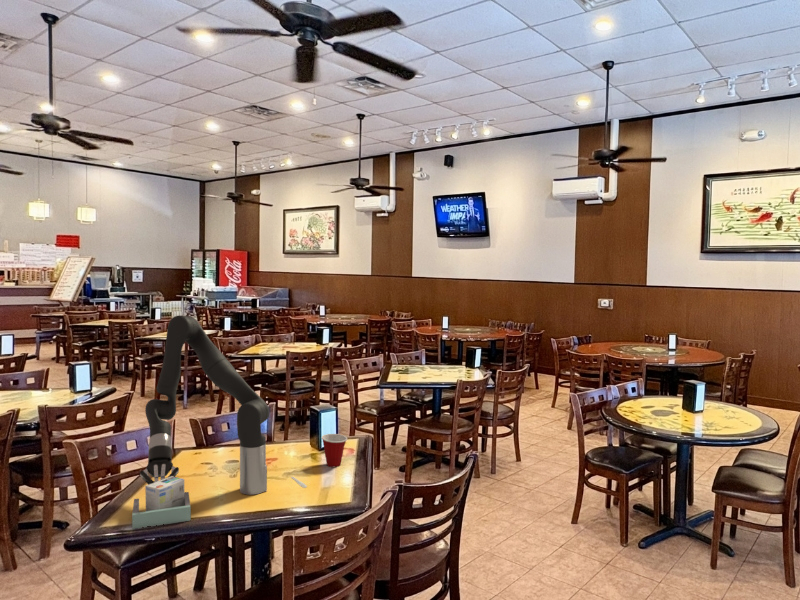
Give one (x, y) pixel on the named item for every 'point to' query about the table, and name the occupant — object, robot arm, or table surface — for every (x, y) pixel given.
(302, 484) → the butter knife
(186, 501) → the cradle
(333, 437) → the plastic cup
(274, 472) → the table surface
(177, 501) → the light bulb box
